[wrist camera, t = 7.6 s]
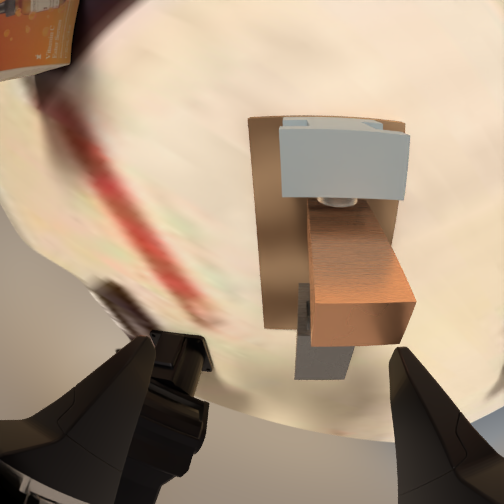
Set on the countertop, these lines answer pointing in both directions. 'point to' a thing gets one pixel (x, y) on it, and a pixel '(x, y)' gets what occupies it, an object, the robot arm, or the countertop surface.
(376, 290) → the sliding bolt with handle
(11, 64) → the small box
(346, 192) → the socket
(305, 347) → the outer sleeve
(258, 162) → the base plate
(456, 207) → the countertop surface
